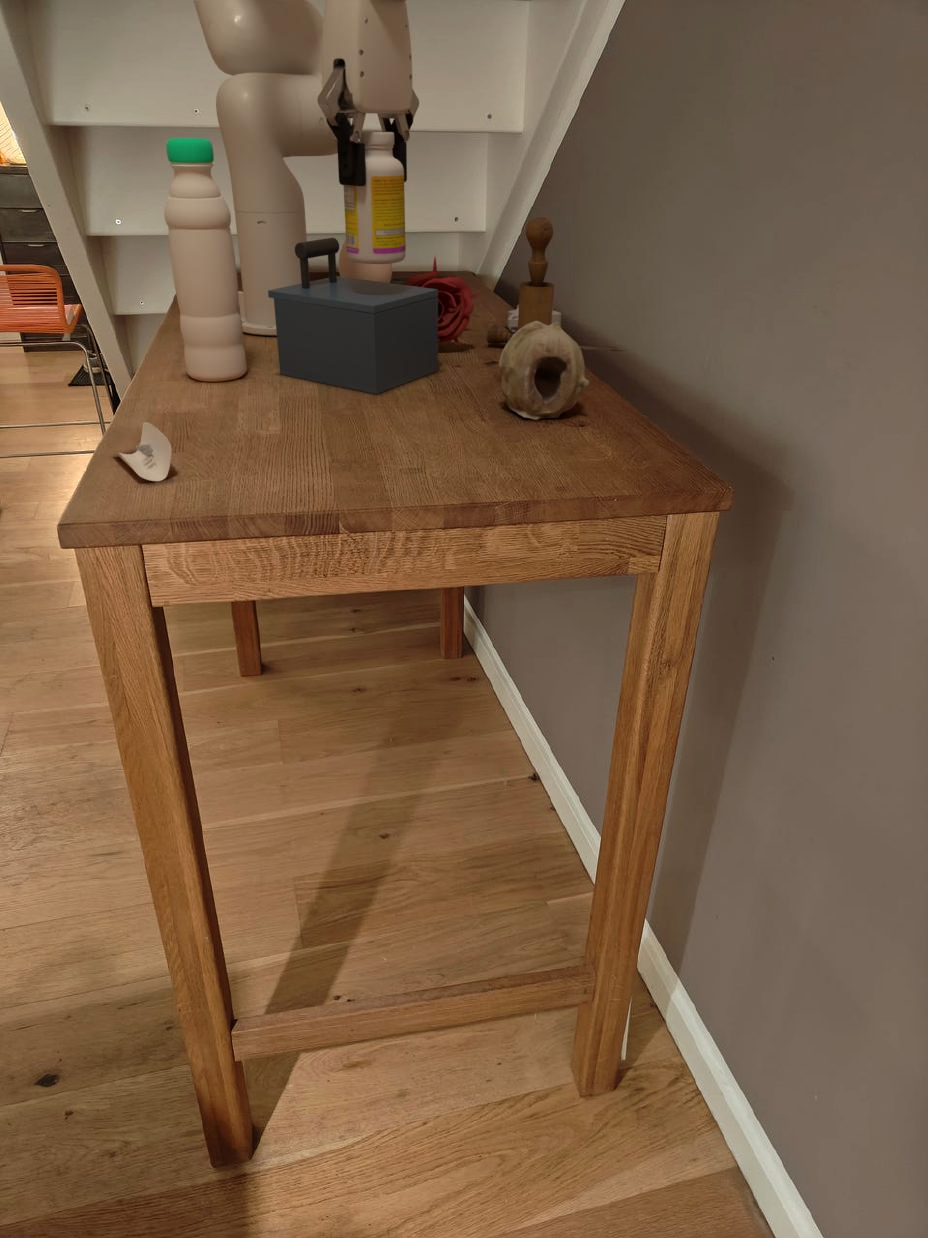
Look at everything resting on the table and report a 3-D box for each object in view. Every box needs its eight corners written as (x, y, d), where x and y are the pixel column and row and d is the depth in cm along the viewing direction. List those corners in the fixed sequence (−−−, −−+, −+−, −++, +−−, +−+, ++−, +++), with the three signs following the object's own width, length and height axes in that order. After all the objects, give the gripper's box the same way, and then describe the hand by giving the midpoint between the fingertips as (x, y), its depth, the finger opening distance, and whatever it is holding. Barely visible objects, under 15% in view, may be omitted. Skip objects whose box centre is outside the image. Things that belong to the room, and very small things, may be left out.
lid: (268, 297, 102) (263, 243, 100) (337, 282, 112) (334, 233, 109) (373, 313, 95) (371, 256, 93) (438, 296, 105) (438, 243, 102)
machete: (638, 340, 122) (644, 346, 117) (634, 359, 123) (639, 366, 118) (487, 320, 121) (487, 325, 117) (485, 340, 122) (485, 346, 118)
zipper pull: (490, 342, 119) (490, 309, 117) (512, 322, 135) (513, 292, 133) (548, 345, 118) (549, 311, 116) (563, 324, 133) (565, 294, 131)
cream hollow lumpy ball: (500, 430, 97) (473, 340, 94) (556, 405, 101) (533, 317, 97) (554, 427, 89) (527, 328, 86) (613, 399, 93) (589, 304, 90)
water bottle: (232, 384, 102) (204, 139, 89) (176, 380, 103) (140, 137, 91) (256, 369, 108) (233, 137, 95) (203, 365, 109) (173, 136, 97)
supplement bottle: (414, 258, 102) (413, 131, 95) (392, 266, 96) (389, 132, 90) (361, 254, 104) (357, 130, 97) (336, 262, 98) (330, 131, 92)
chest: (280, 374, 107) (273, 298, 102) (345, 353, 116) (342, 283, 111) (376, 394, 100) (373, 313, 95) (438, 370, 109) (438, 296, 105)
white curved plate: (144, 416, 81) (110, 412, 79) (173, 441, 75) (138, 436, 73) (138, 455, 82) (105, 451, 80) (167, 482, 76) (132, 478, 75)
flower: (477, 265, 139) (483, 253, 110) (475, 343, 143) (481, 351, 114) (397, 263, 139) (383, 251, 110) (397, 342, 142) (384, 350, 114)
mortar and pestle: (566, 378, 107) (578, 216, 98) (547, 391, 102) (559, 222, 93) (515, 371, 110) (523, 213, 101) (495, 384, 104) (501, 218, 95)
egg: (395, 305, 143) (394, 229, 137) (342, 306, 142) (338, 229, 136) (389, 295, 150) (388, 222, 145) (338, 296, 149) (335, 222, 143)
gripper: (389, -8, 95) (393, 177, 104) (279, -27, 82) (294, 185, 91) (447, -11, 92) (446, 181, 101) (341, -31, 79) (350, 190, 88)
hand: (373, 181), depth 96 cm, fingers closed on supplement bottle, 6 cm apart
